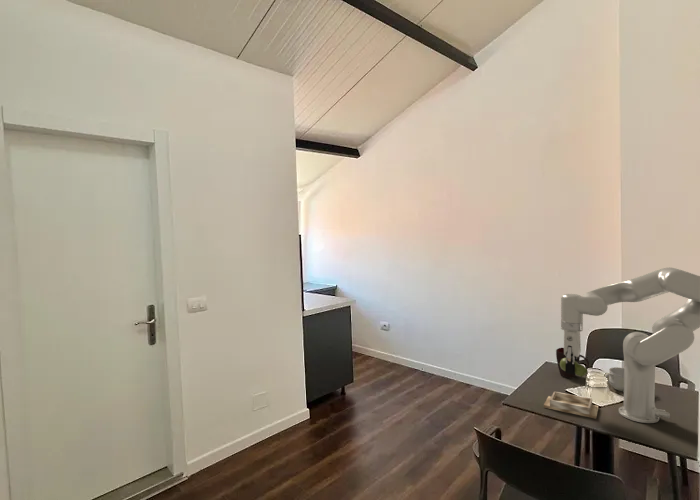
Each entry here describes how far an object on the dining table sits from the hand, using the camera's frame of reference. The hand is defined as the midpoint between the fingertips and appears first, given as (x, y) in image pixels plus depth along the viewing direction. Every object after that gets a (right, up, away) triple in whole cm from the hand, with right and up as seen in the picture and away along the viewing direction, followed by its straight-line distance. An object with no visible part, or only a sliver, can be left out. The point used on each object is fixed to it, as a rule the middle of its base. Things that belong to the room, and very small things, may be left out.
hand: (571, 370), depth 164 cm
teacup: (+31, -14, +18) cm, 38 cm away
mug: (+19, -13, +34) cm, 41 cm away
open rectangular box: (0, -15, +1) cm, 15 cm away
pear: (0, -1, -1) cm, 1 cm away
